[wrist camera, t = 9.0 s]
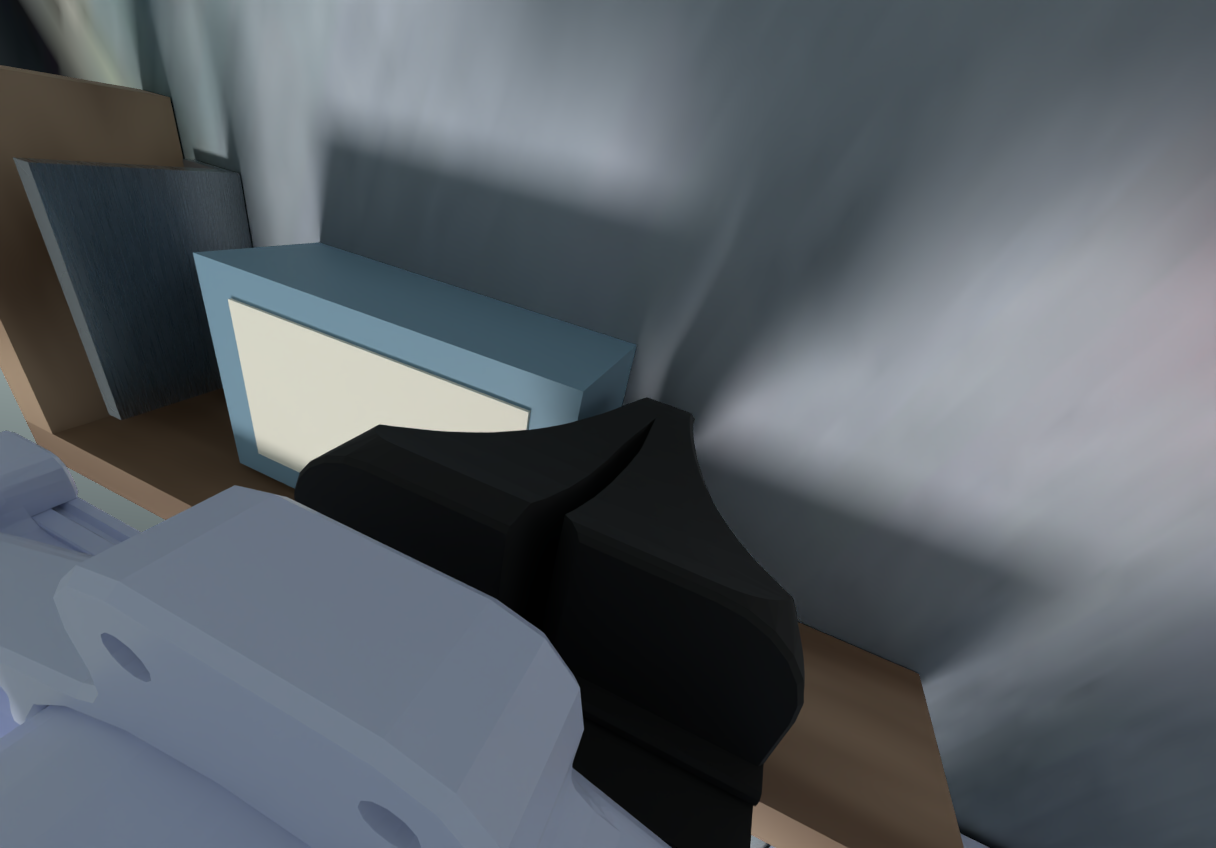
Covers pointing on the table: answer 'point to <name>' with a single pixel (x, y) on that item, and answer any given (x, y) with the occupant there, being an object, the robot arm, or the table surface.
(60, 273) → the bookend
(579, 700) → the robot arm
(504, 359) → the slipcased book
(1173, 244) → the table surface
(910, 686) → the shelf
